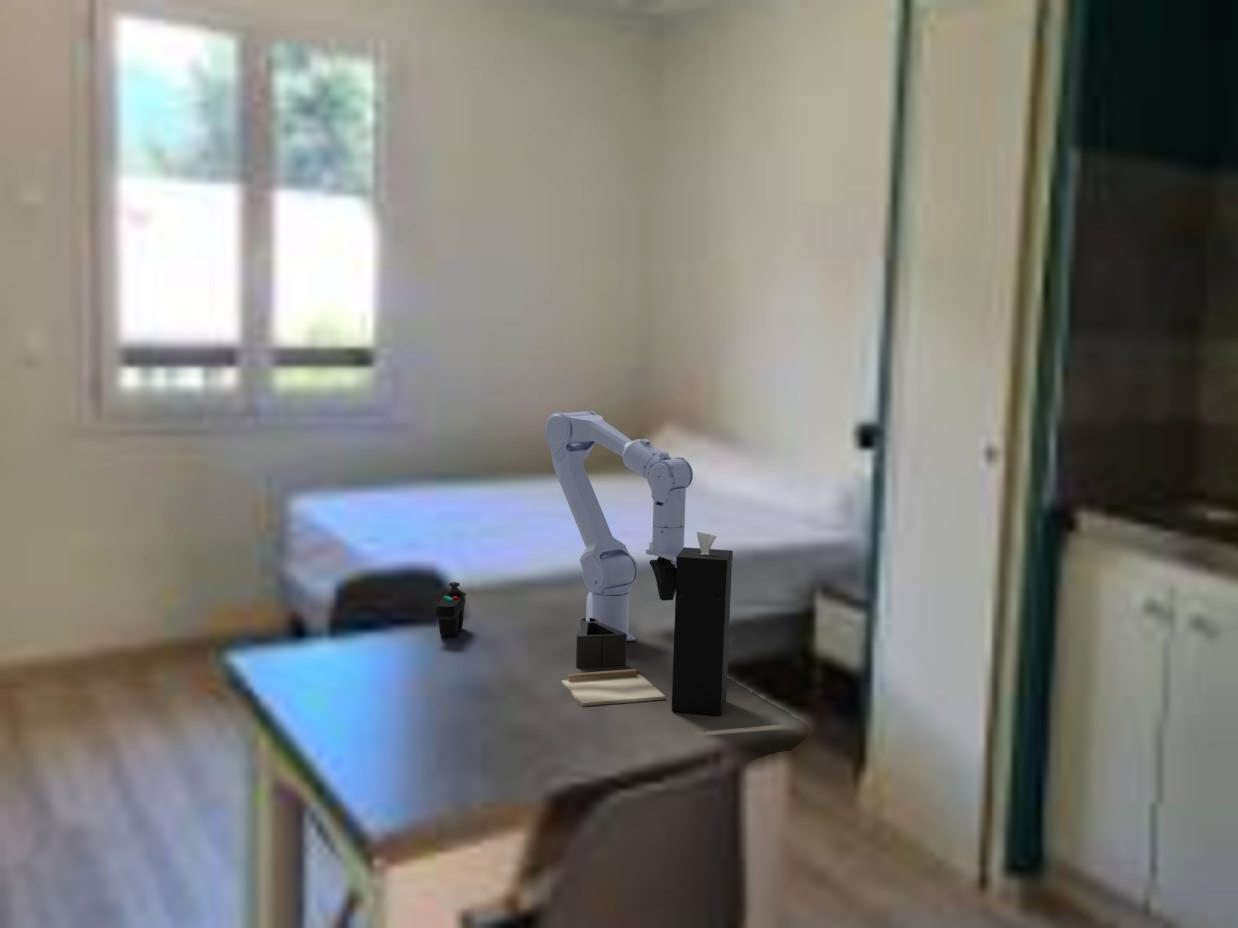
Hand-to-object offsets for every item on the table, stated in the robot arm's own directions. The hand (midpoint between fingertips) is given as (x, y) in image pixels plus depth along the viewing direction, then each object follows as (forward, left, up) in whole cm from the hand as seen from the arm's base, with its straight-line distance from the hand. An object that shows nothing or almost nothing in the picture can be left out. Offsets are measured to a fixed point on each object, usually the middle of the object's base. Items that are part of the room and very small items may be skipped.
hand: (666, 599), depth 213 cm
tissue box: (+28, -5, -11) cm, 30 cm away
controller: (-19, -36, -11) cm, 42 cm away
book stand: (+17, -16, -10) cm, 26 cm away
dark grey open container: (+5, -14, -7) cm, 16 cm away
